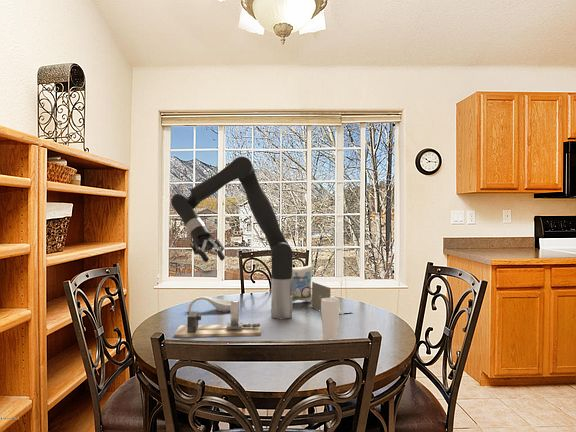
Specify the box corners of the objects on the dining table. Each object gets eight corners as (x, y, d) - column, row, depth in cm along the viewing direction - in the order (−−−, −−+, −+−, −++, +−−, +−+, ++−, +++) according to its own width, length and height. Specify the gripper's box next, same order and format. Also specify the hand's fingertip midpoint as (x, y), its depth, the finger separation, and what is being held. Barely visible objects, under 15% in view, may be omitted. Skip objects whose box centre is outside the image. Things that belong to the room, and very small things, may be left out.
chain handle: (260, 325, 157) (260, 299, 157) (260, 328, 152) (260, 302, 152) (227, 325, 156) (227, 300, 155) (226, 329, 151) (226, 303, 150)
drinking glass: (327, 336, 147) (327, 296, 147) (342, 340, 143) (343, 299, 143) (317, 340, 142) (317, 299, 142) (332, 345, 138) (333, 302, 138)
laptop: (353, 314, 183) (353, 286, 183) (329, 316, 178) (329, 288, 178) (333, 305, 199) (333, 280, 199) (311, 308, 194) (311, 281, 194)
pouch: (276, 303, 203) (277, 264, 203) (309, 300, 210) (310, 262, 210) (282, 306, 195) (283, 266, 195) (316, 303, 203) (317, 264, 203)
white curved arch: (236, 307, 195) (236, 292, 195) (240, 312, 183) (240, 297, 183) (187, 309, 188) (187, 294, 188) (188, 315, 177) (188, 300, 177)
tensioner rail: (259, 326, 160) (260, 309, 160) (260, 335, 148) (260, 316, 148) (179, 328, 157) (180, 310, 157) (174, 337, 145) (174, 318, 145)
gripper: (188, 225, 160) (206, 255, 153) (215, 224, 171) (232, 253, 164) (180, 237, 164) (197, 267, 157) (206, 236, 175) (223, 264, 168)
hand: (215, 260), depth 160 cm, fingers open, 8 cm apart
